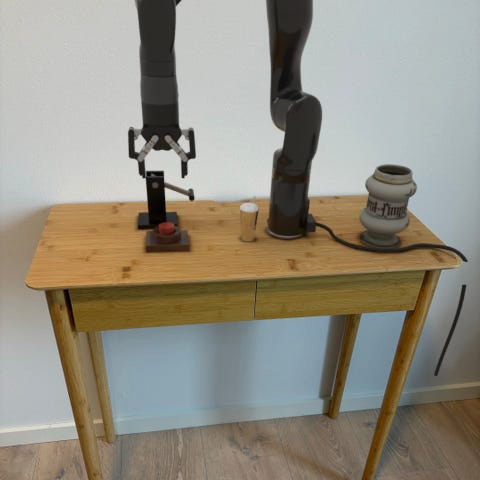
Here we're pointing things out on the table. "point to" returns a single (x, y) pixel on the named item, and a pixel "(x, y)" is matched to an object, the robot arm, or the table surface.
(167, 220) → the switch bracket
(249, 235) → the milkshake
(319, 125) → the robot arm
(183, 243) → the button block
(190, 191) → the switch lever
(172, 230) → the button
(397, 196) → the apothecary jar
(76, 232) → the table surface
